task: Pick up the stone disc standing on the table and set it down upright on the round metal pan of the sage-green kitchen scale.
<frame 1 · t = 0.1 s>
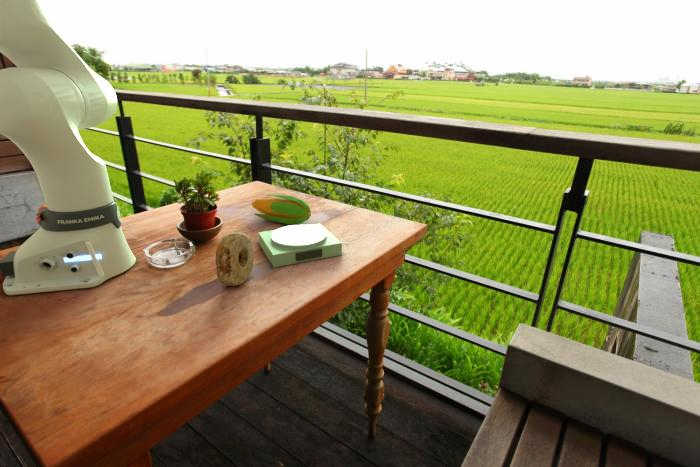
stone disc: (238, 282, 78), on the table
scale: (299, 249, 92), on the table
corn: (279, 221, 110), on the table
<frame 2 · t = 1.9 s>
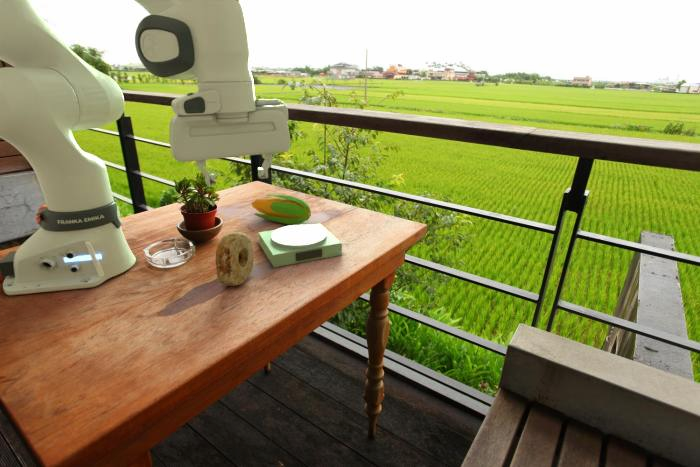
hand: (237, 181, 70), 20 cm above the table, tool pointing down, fingers open, 8 cm apart
nothing on the table moved.
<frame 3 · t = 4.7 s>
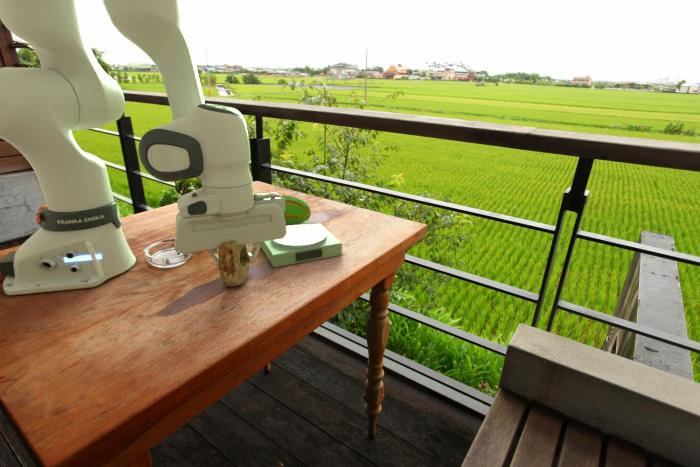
hand: (236, 264, 76), 4 cm above the table, tool pointing down, fingers closed on stone disc, 4 cm apart
stone disc: (238, 282, 78), on the table, touching gripper
everything else where it was.
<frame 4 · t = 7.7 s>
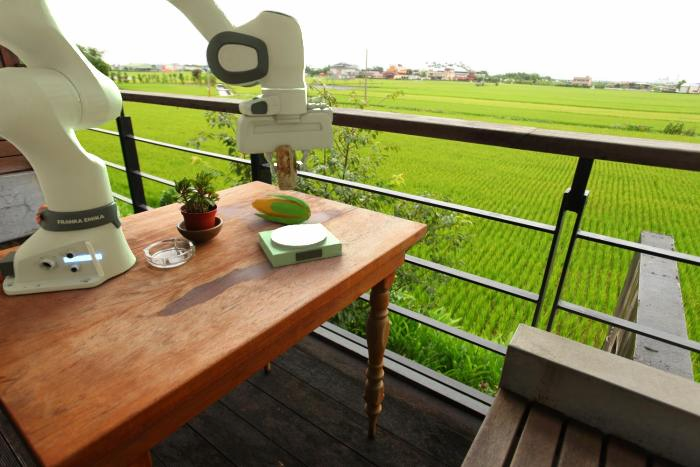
hand: (288, 172, 83), 19 cm above the table, tool pointing down, fingers closed on stone disc, 4 cm apart
stone disc: (288, 189, 84), point 15 cm above the table, touching gripper
everything else where it was.
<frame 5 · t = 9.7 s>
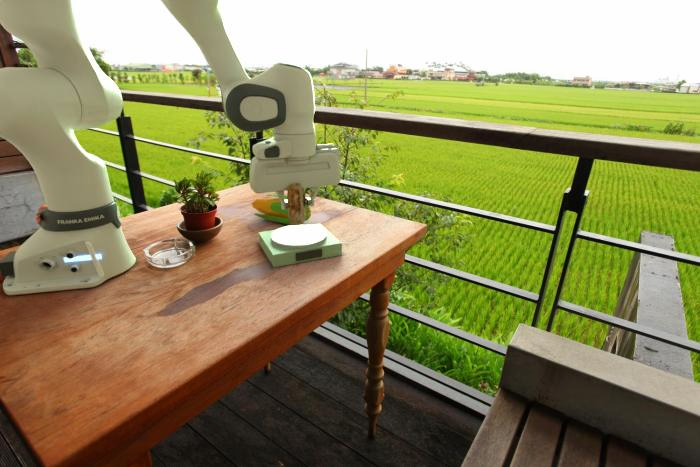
hand: (297, 207, 88), 10 cm above the table, tool pointing down, fingers closed on stone disc, 4 cm apart
stone disc: (298, 223, 89), point 7 cm above the table, touching gripper
everything else where it was.
when the fingers open (7 cm above the table, at t = 11.0 s): stone disc stays where it is, resting on scale.
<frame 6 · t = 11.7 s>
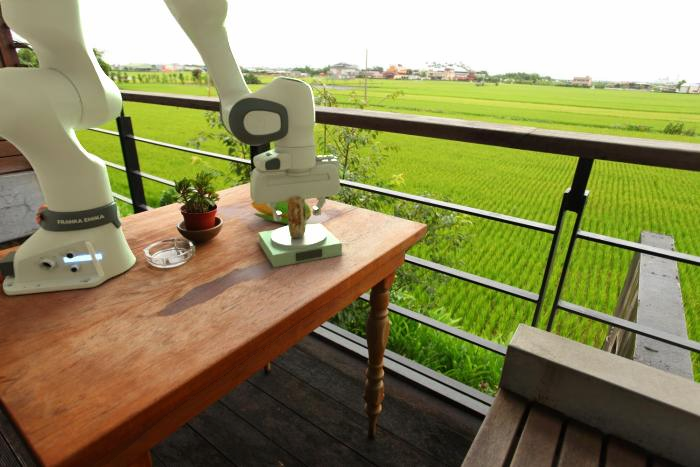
hand: (297, 217, 89), 8 cm above the table, tool pointing down, fingers open, 8 cm apart
stone disc: (298, 235, 90), point 4 cm above the table, touching scale
everything else where it was.
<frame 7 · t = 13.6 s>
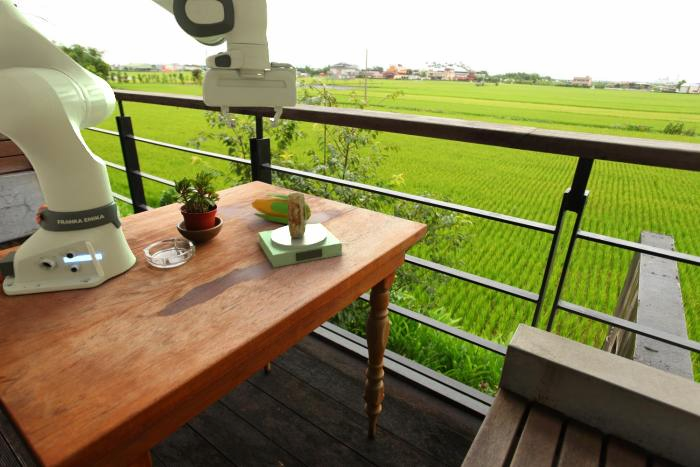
hand: (253, 127, 87), 27 cm above the table, tool pointing down, fingers open, 8 cm apart
nothing on the table moved.
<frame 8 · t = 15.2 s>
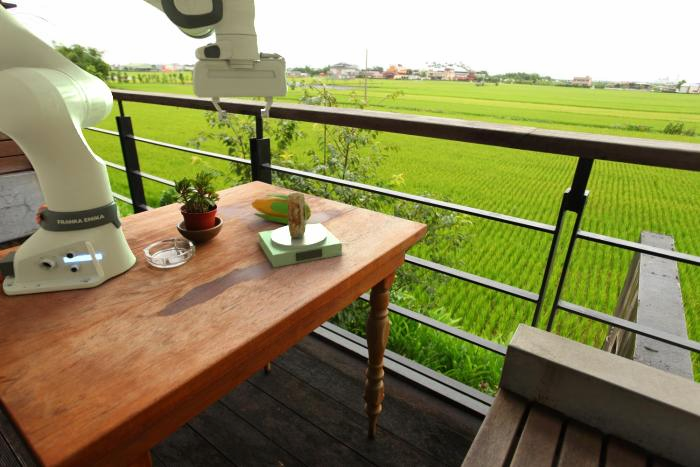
hand: (244, 118, 88), 29 cm above the table, tool pointing down, fingers open, 8 cm apart
nothing on the table moved.
at the end: stone disc inside the target area on the scale (0.4 cm from its centre), point 3.6 cm above the scale's base; stone disc tilted 0°; the gripper is holding nothing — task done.
